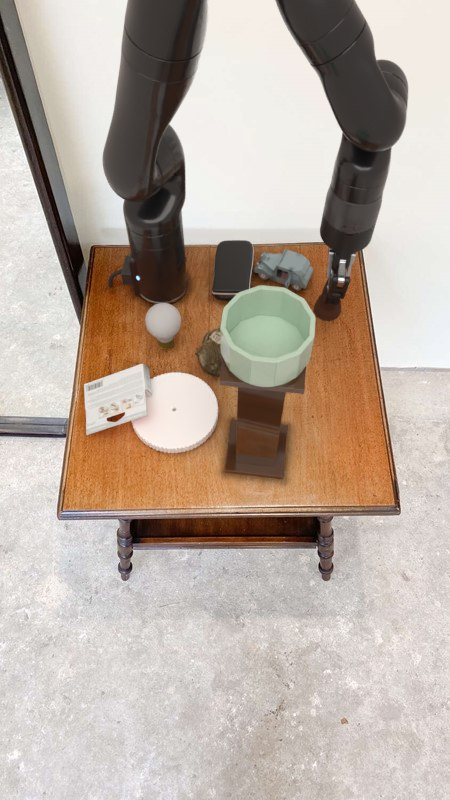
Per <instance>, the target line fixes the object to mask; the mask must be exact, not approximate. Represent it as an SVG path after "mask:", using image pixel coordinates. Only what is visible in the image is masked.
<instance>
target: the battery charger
mask: <svg viewBox="0 0 450 800" xmlns="http://www.w3.org/2000/svg"><path fill="white" fill-rule="evenodd" d="M254 249H255V248H254V245H253V244H252V243H251V241H249V240H241V239H235V240H234V239H233V240H222V241H220V242H219V243H218V244H217V245H216V250H215V254H214V255H215V256H214V264H213V265H214V266H213V282H212V287H211V293H212V295H213V297H214V298H215V299H216V300H219V301H231V300H232V299H233V298H234V297H235V295H236V294H237V293H239V292H241V291H244V290H247V289H250V288H251V281H252V274H253V272H254V263H255V262H254V261H255V254H254V253H255V250H254Z"/></svg>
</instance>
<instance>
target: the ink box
mask: <svg viewBox="0 0 450 800" xmlns="http://www.w3.org/2000/svg"><path fill="white" fill-rule="evenodd" d="M150 379H151V374H150V368H149V367H148V366H147V365H146V364H145V363H139V364H136V365H134V366H130V367H128V368H125V369H122V370H120V371H116V372H113V373H111V374H108V375H106V376H103V377H100V378H97V379H95V380H92V381H89V382H86V383H84V384H83V396H84V411H85V435H86V436H90V435H92V434H95V433H99V432H102V431H104V430H109V429H111V428H114V427H117V426H120V425H123V424H125V423H129V422H131V421H132V420H135V419H138V418H141V417H144V416H147V404H146V397H148V396H150V395H152V392H151V382H150ZM123 413H124V415H123V416H122V417H121V418H120V419H118V420H117V421H110V420H109V421H108V419H109V418H112V417H114V416H115V417H116V416H117V415H120V414H123Z"/></svg>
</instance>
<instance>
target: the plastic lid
mask: <svg viewBox="0 0 450 800" xmlns="http://www.w3.org/2000/svg"><path fill="white" fill-rule="evenodd" d="M150 382H151V392H152V395H150V396H148V397H146V404H147V416H144V417H141V418H138V419H135V420H132V421H130V423H131V425H132V429H133V430H134V433H135V435H136V436H137V437H138V439H140V441H142V442H143V444H145V445H146V446H148V447H149V448H150V449H151V448H152V450H156V452H157V451H159V452H160V453H164V454H166V453H167V454H170V453H171V454H178V453H179V454H182V453H186V452H190V450H191V451H192V450H194V449H197V447H200V446H201V445H203V444H204V443H206V441H207V440H209V438H210V437H211V436H212V434H213V433H214V431H215V429H216V427H217V424H218V421H219V403H218V399H217V397H216V394H215V392H214V390H213V389H212V387H211V386H210V385H208V383H207V382H205V380H203V379H202V378H200V377H198V376H197V377H196V375H193V374H191V373H190V374H189V373H186V372H182V371H179V372H178V371H175V372H174V371H171V372H164V374H163V373H161V374H160V375H159V374H158V375H156V376H153V378H151V377H150Z"/></svg>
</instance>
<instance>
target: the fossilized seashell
mask: <svg viewBox="0 0 450 800" xmlns="http://www.w3.org/2000/svg"><path fill="white" fill-rule="evenodd" d="M194 352H195V353H194V354H195V355H196V357H197V358H198V362H199V365H200V367H201V369H202V370H203V372H205V373H207V374H209V375H211V376H220V373H221V367H222V360H223V356H222V354H221V341H220V327H218V328H215V329H212V330H209V331H207V332H206V333H205V335H204V336H203V339H202V341H201V345H200V346H199V347H198V348H197V349H196V351H194Z"/></svg>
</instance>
